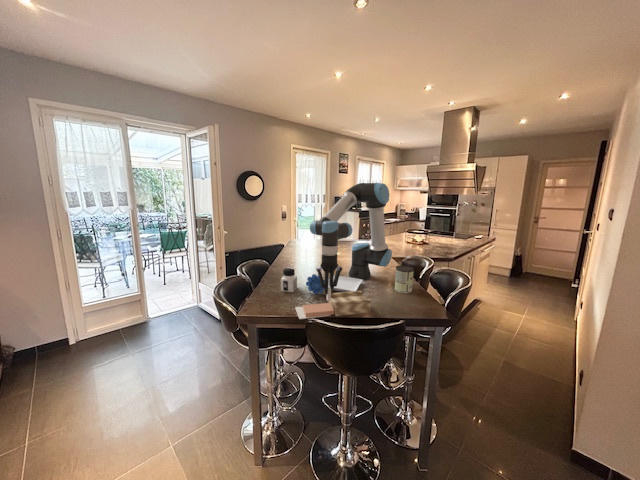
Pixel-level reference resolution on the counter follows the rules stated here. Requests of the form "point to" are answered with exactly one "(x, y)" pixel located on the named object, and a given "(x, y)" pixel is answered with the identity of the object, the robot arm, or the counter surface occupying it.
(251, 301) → the counter surface
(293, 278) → the container
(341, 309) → the box
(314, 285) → the grapes
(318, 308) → the block
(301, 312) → the mat
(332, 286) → the robot arm
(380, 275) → the counter surface
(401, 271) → the coffee can
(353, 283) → the salad plate
